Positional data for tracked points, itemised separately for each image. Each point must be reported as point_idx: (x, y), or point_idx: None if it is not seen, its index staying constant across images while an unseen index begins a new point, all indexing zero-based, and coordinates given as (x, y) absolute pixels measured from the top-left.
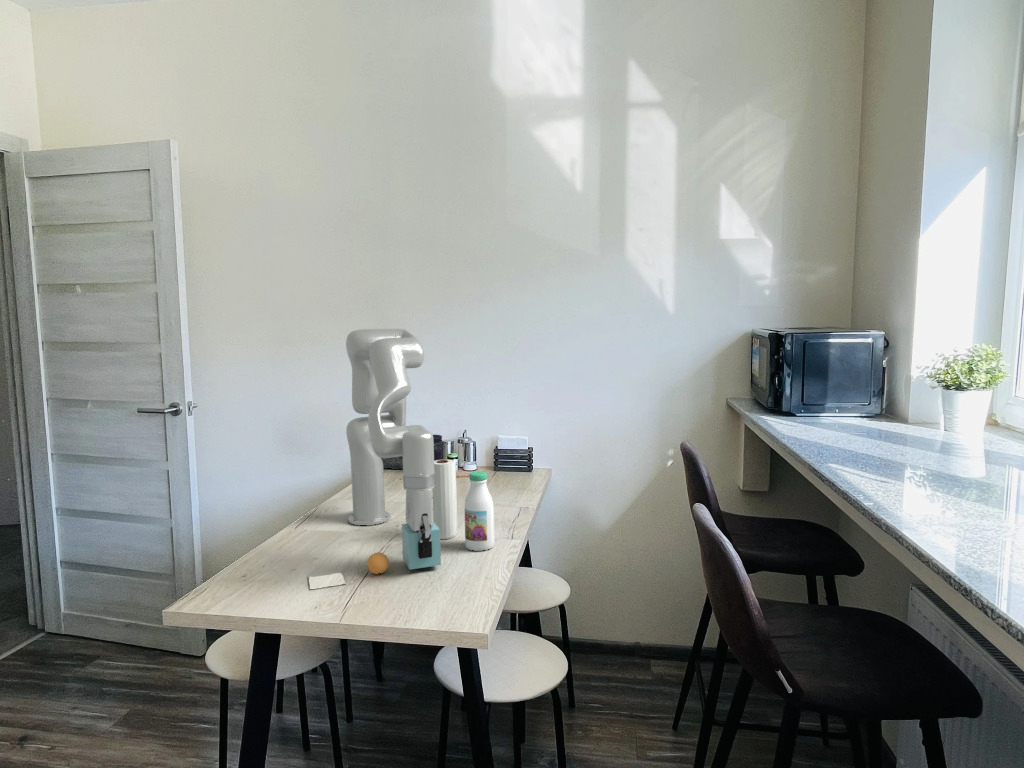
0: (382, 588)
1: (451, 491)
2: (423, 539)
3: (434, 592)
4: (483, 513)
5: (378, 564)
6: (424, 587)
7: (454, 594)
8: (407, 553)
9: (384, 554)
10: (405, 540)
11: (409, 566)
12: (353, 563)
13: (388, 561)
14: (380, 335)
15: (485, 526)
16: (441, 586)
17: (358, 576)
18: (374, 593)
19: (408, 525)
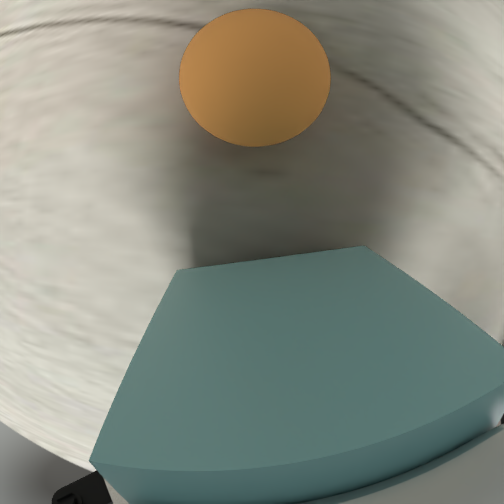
0: (55, 128)
1: None
2: (78, 481)
3: (16, 330)
4: None
5: (180, 74)
6: (45, 307)
7: (15, 375)
8: (206, 304)
9: (273, 109)
10: (293, 346)
11: (173, 279)
12: (410, 21)
13: (245, 144)
14: None
15: None
16: (56, 362)
17: (239, 7)
18: (25, 103)
19: (397, 487)
